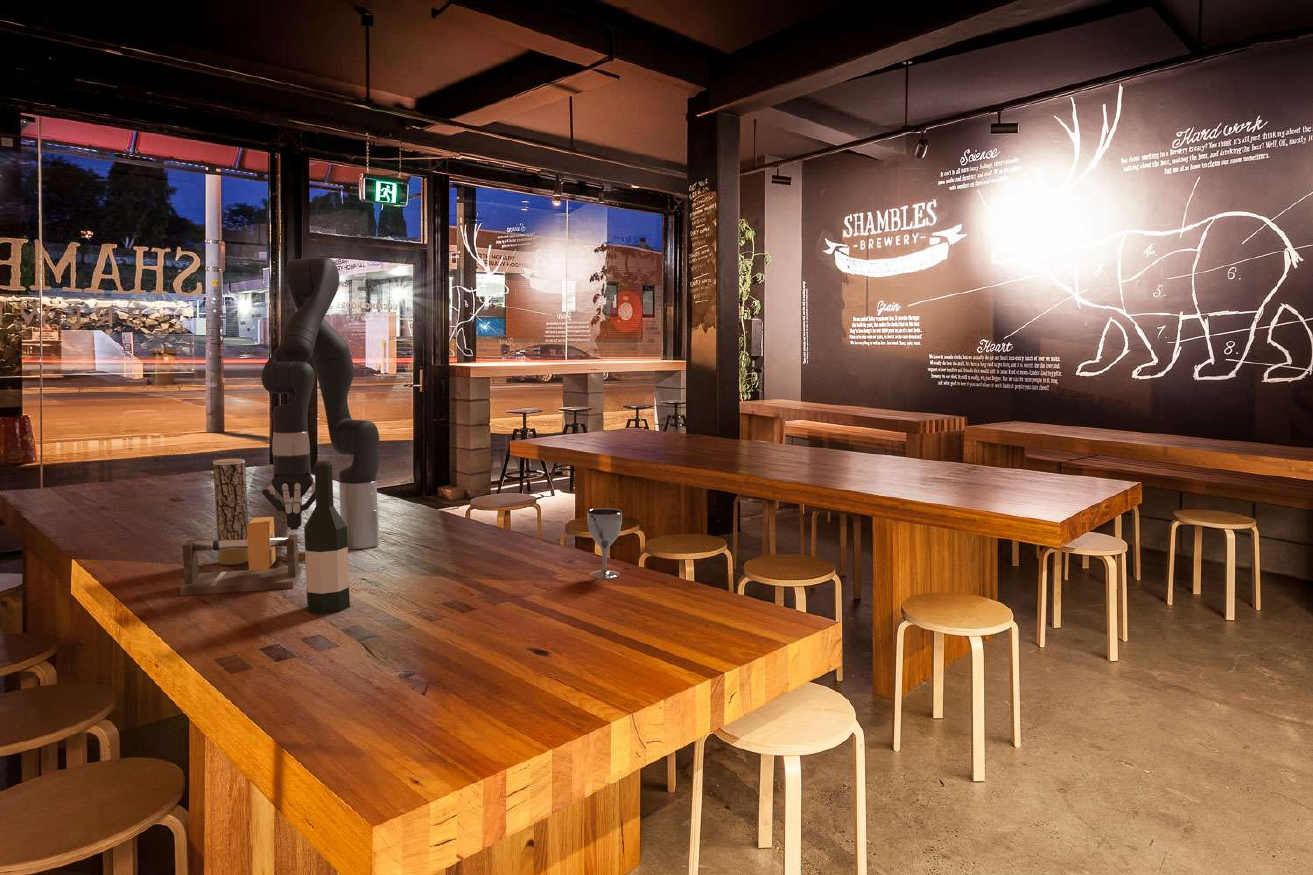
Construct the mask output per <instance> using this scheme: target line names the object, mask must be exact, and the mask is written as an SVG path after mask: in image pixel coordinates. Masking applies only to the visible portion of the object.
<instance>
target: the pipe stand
mask: <svg viewBox="0 0 1313 875" xmlns="http://www.w3.org/2000/svg"><path fill="white" fill-rule="evenodd" d="M298 541H299V540H298V534H289V536H287V537H285V536H284V537H275V538H270V547H275V548H277V547H278V548H280V547H286V561H287V567H279V568H270V569H265V570H249V569H247V570H231V571H230V570H228V571H216V572H215V571H212V572H210V571H209V572H199V559H198V558H199V555H198V552H203V551H216V552H217V551H218V550H226V549H245V548H248V541H247V539H243V540H223V541H220V540H217V539H216V540H206V541H205V540H204V541H203V540H202V541H198V539H188V540H187V541H186V542H184V543H183V544H182V559H183V560H182V561H183V562H182V563H183V578H184V584H183V585H182V586H181V587H180V588H179V592H180V593H179V595H180V596H192V595H193V596H194V595H209V594H225V593H237V592H239V593H240V592H241V593H242V592H254V591H271V590H272V591H273V590H286V589H294V587H295V585H296V584H297V582H298V580H299V578H300V577H301V575H302V567H301V566H299V564H300V563H299V549H298V548H299V546H298V545H299V544H298V543H299V542H298ZM299 576H300V577H299Z"/></svg>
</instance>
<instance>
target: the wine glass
mask: <svg viewBox="0 0 1313 875" xmlns="http://www.w3.org/2000/svg"><path fill="white" fill-rule="evenodd" d="M586 518H587V526H588V527H587V528H588V531H589V534H590V537H591V538H592V539H593V540H594V542H595V543H596V544H597V545H598V546H599V548H600V551H601V554H602V569H601V570H596V571H592V572H590V573H589V577H591V578H592V579H593V578H594V579H598V580H610V579H616V578H618V577H620V575H621V574H620V572H618V571H616V570H609V569H607V568H608V567H607V560H608V559H607V558H608V552H609V549H610V547H611V545H612V544H614V542H615V541H616V540H617V539H618V537H619V536H620V533H621V529H622V528H621V527H622V525H623V524H622V523H623V521H622V520H623V511H622V510H621V509H618V508H614V507H612V508H611V507H596V508H592V509H589V510H587V517H586Z"/></svg>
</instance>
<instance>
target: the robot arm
mask: <svg viewBox="0 0 1313 875" xmlns="http://www.w3.org/2000/svg"><path fill="white" fill-rule="evenodd" d="M285 276H286V282H287V286H288V289H289V291H290V292H289V293H290V295H291V297H292V300H293V304H294V305H295V308H296V311H295V312H294V313H293V314H292V315H291V316H290V318H289V319H288V320H287V322H286V324H285V325H284V328H283V330H282V335H281V339H280V342H279V344H278V347H277V348H275V350H274V352H273V353H272V355H271V356H270V357H269V358H268V360H267V361H266V362H265V364H264V366H263V368H262V371H261V383H262V385H263V386H262V387H263V388H264V389H265V390H266V391H267V392H269V393H270V394H276V395H277V394H278V395H279V394H280V395H281V394H283V395H284V394H285V395H286V394H289V395H291V394H295V396H294V399H293V400H292V402H289V403H285V404H280V405H277V406H274V407H273V409H272V432H273V433H272V434H273V435H272V444H271V445H272V447H271V450H272V451H271V452H272V463H273V464H272V466H273V478H272V480H271V484H270V485H269V486H267V487H265V488H263V489H262V490H261V494H262V495H263V496H264V498H266V499H267V501H268V502H269V503H270V504H272V506H273V507H274V508H275V509H276V510H277V511H279V512H283V513H285V514H286V526H287V528H289V530H290V531H293V530H294V531H297V530H299V528H300V527H301V526H302V524H303V523H302V521H303V520H302V512H304V511H308V510H309V508H310V507H311V506H312V505H313V503H314V502H316V494H315V481H314V478H313V476H312V471H311V447H310V445H311V444H310V437H309V428H308V427H309V426H308V425H309V421H308V415H309V414H308V413H309V412H308V411H309V404H310V401H311V397H312V393H313V389H314V387H315V386H314V385H315V380H316V378H317V381H318V385H319V389H320V395H321V398H322V401H323V406H324V411H325V412H324V413H325V417H326V422H327V430H328V435H329V439H330V443H331V445H332V448H333V449H334V450H335V452H337V453H338V454H341V455H349V456H353V457H352V463H351V465H350V466H348V467H346V468H343V469H341V470H340V471H339V473H338V478H339V480H338V482H339V484H338V485H339V509H340V510H339V511H340V513H339V515H340V517H341V518H342V520H343V521H344V523H345V524H346V526H347V540H348V550H349V549H351V550H356V549H357V550H359V549H368V548H369V549H370V548H373V547H379V544H380V526H379V507H378V488H377V485H378V483H377V475H378V471H379V469H380V468H379V467H380V434H379V429H378V427H377V425H376V424H375V422H372V421H370V420H363V419H352V417H351V414H350V412H351V411H350V409H349V408H350V407H349V404H348V396H349V393H350V392H349V391H350V389H351V386H352V384H353V379H354V374H355V366H354V363H353V358H352V354H351V350H350V347H349V345H348V343H347V341H346V340H345V339H344V337H343V336H342V335H341V334H340V333H339V332H338V331H337V330H336V329H335V328H334V327H333V326H332V325H331V324H330V323H329V322H328V321H327V320H326V319H325V317H326V315H327V312H328V311H329V309H330V307H331V306H332V303H333V301H334V299H335V297H336V295H337V292H338V290H339V286H340V273H339V269H338V266H337V264H336V263H335V261H334V260H333V259H331V258H329V257H325V256H317V257H311V258H309V257H308V258H297V259H292V260H289V261H288V262H287V264H286V266H285ZM310 360H311V361H312V365H311V364H310V363H309V362H308V361H310ZM312 366H313V367H312ZM310 488H311V489H310ZM309 489H310V493H311V495H310V496H309V498H308V499H307V501H306V502H305V503H303V497H304V496H305V495H306V493H307V492H308V491H309ZM276 491H277V493H278V494H279V495H280V496H281V497H282V498H283V502H282V501H281V500H280V499H279V497H278V496H277V495H275V494H276Z"/></svg>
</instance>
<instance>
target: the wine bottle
mask: <svg viewBox="0 0 1313 875" xmlns="http://www.w3.org/2000/svg"><path fill="white" fill-rule="evenodd" d="M313 465H314V468H313V469H314V483H315V494H316V499H315V507H314V509H313V511H312V512H311V514H310V516H309V518H308V519H307V521H306V523H305V524H304V527H303V533H304V534H303V537H304V552H305V553H304V556H305V561H304V562H305V581H306V601H307V604H306V605H307V611H308V613H309V614H318V615H328V614H334V613H335V614H336V613H341V612H343V611H345V610H347V609H349V608H350V607H351V604H350V603H351V601H350V600H351V598H350V596H351V595H350V576H349V575H350V574H349V573H350V572H349V549H348V540H347V526H346V524H345V523H344V521H343V520H342V518H341V517H340V513H339V512H338V511H337V509H336V508H335V506H334V505H335V504H334V482H333V481H334V479H333V464H332V463H331V462H330V460H329V459H319V460H316V464H313Z"/></svg>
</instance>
